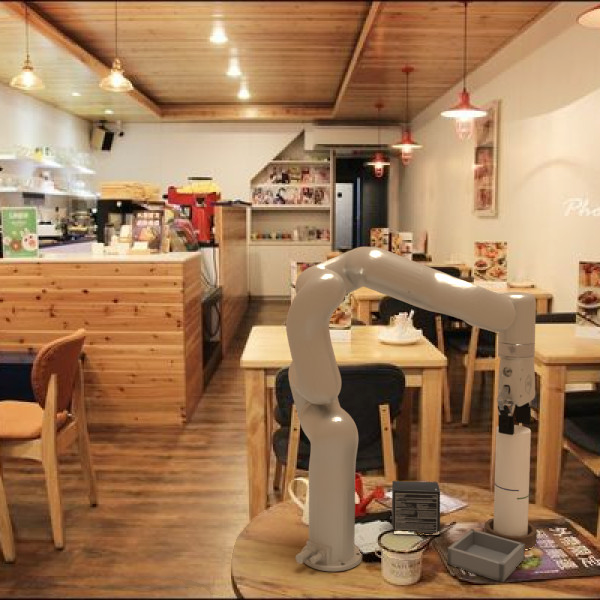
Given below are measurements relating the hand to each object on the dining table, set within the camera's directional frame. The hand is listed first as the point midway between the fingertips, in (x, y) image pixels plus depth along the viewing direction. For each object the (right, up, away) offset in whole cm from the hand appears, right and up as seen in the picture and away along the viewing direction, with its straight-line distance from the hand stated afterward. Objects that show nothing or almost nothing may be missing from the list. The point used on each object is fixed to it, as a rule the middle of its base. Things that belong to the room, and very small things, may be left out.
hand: (514, 428), depth 147 cm
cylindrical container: (0, -25, +2) cm, 25 cm away
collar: (0, -25, +2) cm, 25 cm away
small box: (-20, -25, +8) cm, 33 cm away
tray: (-8, -26, -8) cm, 28 cm away
